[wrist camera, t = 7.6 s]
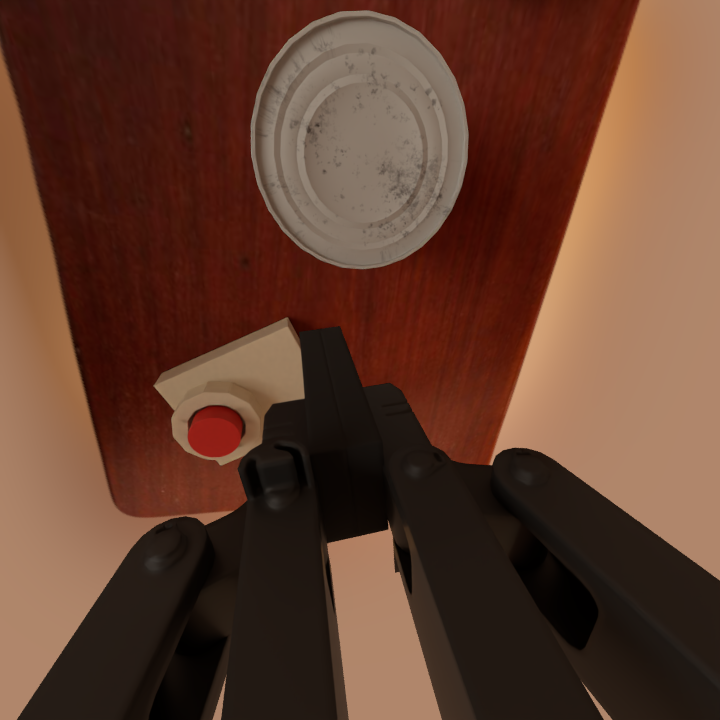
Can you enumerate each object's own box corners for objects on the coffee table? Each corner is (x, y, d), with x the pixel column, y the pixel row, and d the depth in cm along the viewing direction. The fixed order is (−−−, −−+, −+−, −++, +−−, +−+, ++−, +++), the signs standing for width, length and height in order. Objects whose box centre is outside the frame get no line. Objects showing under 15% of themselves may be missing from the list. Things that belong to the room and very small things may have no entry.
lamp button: (182, 417, 29) (176, 431, 27) (226, 397, 29) (223, 409, 27) (209, 450, 31) (205, 464, 29) (251, 432, 31) (249, 445, 29)
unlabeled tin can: (305, 257, 28) (319, 303, 18) (236, 128, 24) (198, 83, 13) (410, 202, 28) (490, 214, 17) (362, 61, 23) (429, -44, 13)
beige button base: (156, 375, 30) (140, 400, 27) (287, 316, 30) (288, 334, 27) (220, 452, 35) (213, 482, 32) (333, 402, 35) (338, 426, 32)
